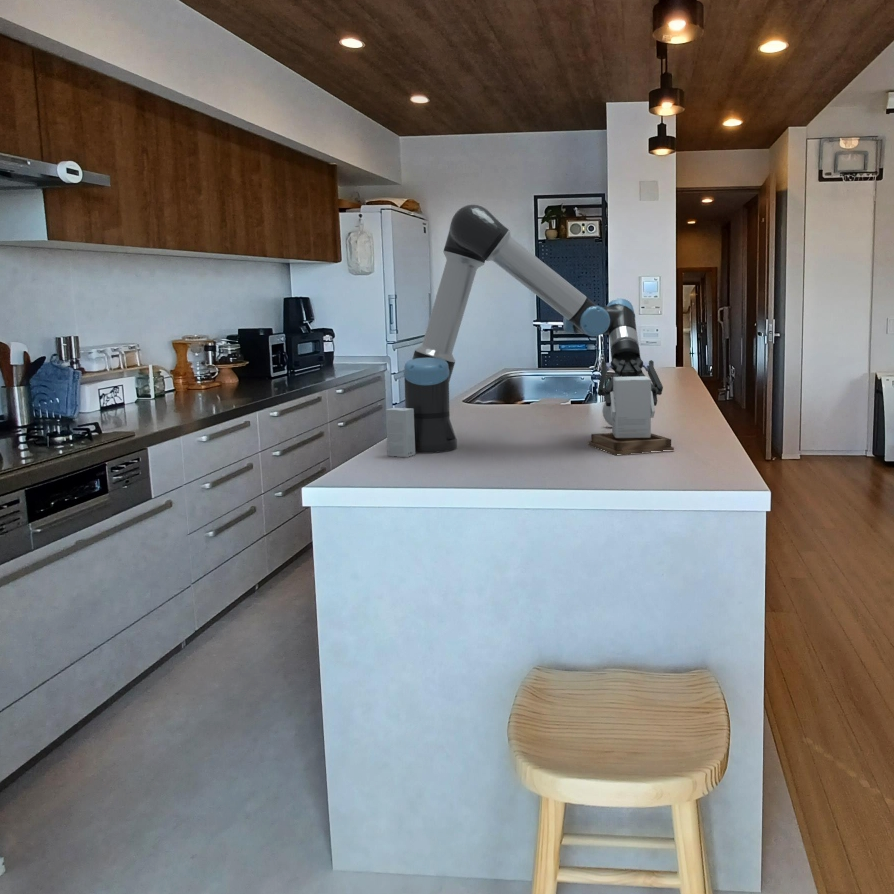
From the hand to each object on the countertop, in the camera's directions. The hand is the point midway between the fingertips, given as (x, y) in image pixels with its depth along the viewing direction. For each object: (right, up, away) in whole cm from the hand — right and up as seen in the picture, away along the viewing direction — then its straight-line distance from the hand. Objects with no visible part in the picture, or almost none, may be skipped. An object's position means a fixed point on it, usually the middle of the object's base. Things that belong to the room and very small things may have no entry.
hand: (633, 414), depth 218 cm
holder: (0, -8, +5) cm, 10 cm away
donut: (+4, -3, +39) cm, 40 cm away
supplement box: (0, -5, +4) cm, 7 cm away
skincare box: (-59, -11, +1) cm, 60 cm away
